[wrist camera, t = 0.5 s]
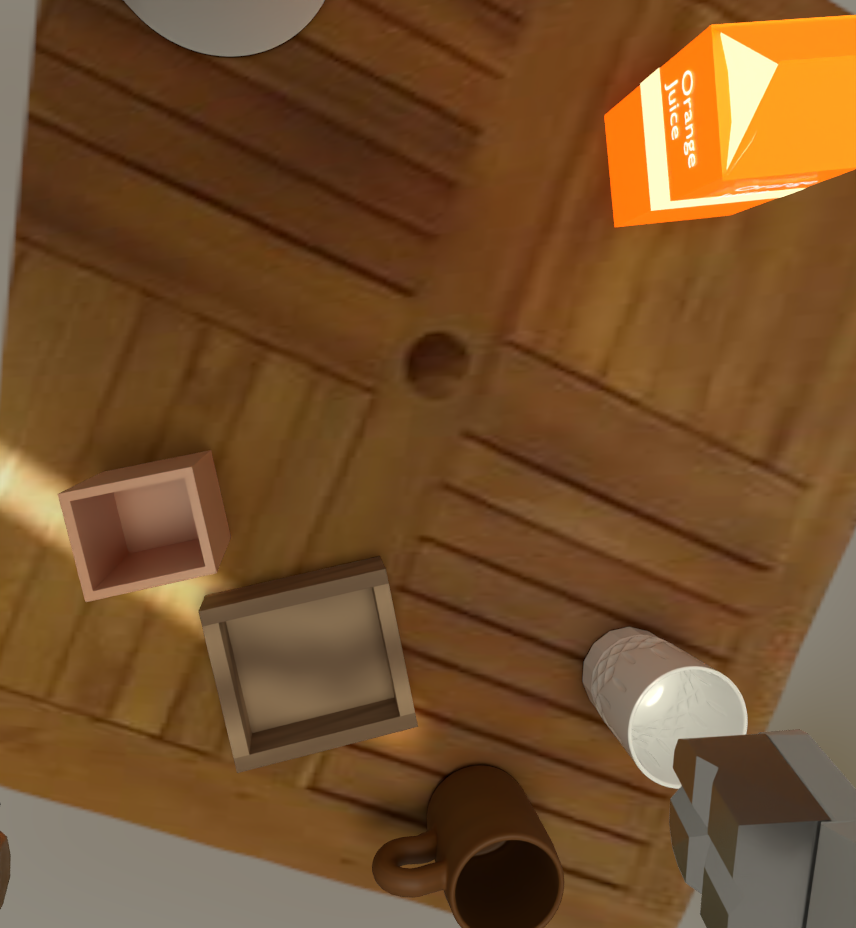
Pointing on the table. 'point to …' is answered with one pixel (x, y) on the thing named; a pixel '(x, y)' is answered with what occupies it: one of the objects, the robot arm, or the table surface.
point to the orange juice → (736, 121)
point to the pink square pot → (146, 525)
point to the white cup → (658, 698)
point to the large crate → (307, 663)
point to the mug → (479, 854)
